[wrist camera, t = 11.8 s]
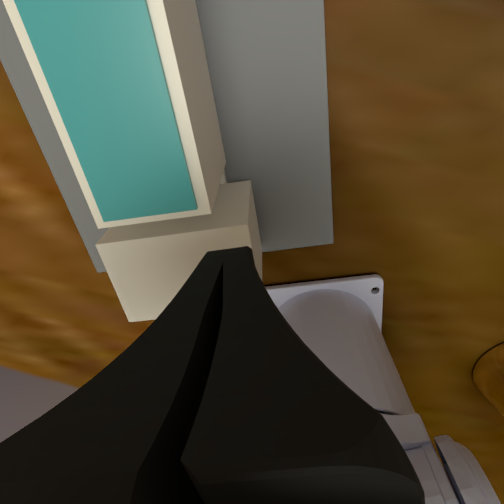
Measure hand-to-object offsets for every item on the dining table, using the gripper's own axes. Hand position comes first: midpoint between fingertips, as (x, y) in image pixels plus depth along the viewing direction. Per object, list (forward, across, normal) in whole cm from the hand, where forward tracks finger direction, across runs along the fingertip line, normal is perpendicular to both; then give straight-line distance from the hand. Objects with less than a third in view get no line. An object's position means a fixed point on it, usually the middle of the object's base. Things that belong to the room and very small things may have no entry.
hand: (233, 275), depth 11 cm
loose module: (+8, +2, -4) cm, 10 cm away
